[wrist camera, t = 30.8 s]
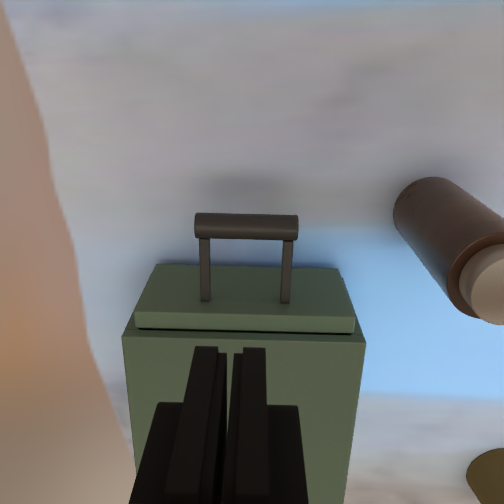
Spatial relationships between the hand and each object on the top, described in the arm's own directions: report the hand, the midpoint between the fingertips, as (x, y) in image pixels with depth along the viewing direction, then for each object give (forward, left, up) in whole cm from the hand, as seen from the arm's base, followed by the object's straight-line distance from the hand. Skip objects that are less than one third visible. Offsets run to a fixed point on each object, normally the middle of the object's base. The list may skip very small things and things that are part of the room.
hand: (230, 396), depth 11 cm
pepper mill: (-1, +13, -23) cm, 27 cm away
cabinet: (+16, +4, -23) cm, 28 cm away
